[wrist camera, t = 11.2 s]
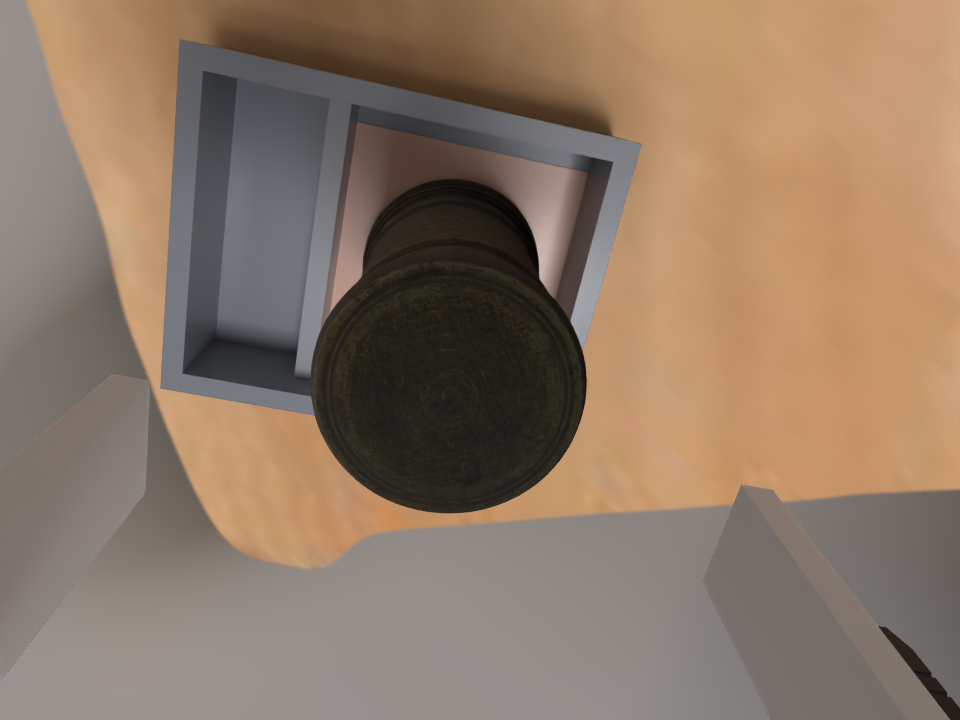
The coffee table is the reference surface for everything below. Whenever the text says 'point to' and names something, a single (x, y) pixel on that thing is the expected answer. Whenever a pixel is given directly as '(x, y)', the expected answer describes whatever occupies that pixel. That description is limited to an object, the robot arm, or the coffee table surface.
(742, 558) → the robot arm
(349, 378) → the container
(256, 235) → the walled box
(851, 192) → the coffee table surface
